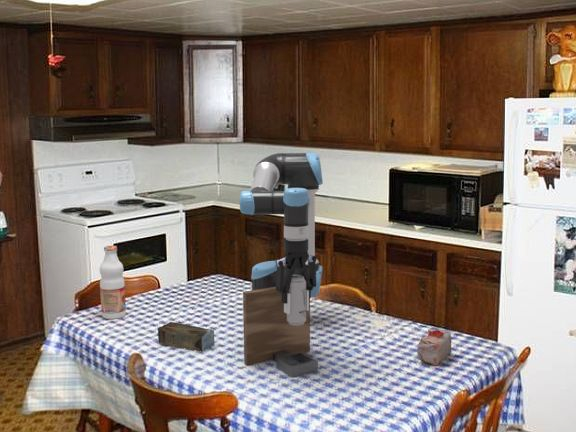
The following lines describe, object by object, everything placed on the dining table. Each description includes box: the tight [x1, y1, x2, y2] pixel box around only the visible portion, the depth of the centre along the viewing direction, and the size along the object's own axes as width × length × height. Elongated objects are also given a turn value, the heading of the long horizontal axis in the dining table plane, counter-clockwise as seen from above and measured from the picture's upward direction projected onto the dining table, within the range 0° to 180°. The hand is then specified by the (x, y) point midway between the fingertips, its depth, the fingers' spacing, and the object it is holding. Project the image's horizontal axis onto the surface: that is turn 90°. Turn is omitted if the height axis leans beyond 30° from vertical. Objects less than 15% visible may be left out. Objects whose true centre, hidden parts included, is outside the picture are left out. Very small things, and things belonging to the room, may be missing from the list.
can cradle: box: [272, 350, 319, 378], centre depth 224 cm, size 16×10×4 cm, turn 31°
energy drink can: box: [287, 275, 306, 326], centre depth 218 cm, size 6×6×15 cm
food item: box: [416, 329, 452, 366], centre depth 229 cm, size 14×8×10 cm, turn 148°
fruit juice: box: [99, 245, 127, 320], centre depth 275 cm, size 9×9×28 cm
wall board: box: [242, 287, 311, 366], centre depth 230 cm, size 2×24×24 cm, turn 121°
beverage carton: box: [157, 321, 215, 353], centre depth 244 cm, size 8×19×7 cm, turn 62°
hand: (296, 311), depth 218 cm, fingers closed on energy drink can, 6 cm apart
